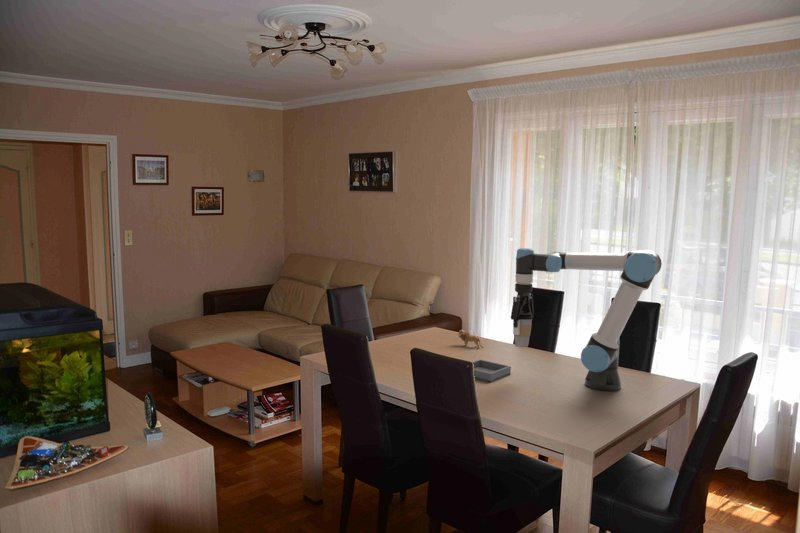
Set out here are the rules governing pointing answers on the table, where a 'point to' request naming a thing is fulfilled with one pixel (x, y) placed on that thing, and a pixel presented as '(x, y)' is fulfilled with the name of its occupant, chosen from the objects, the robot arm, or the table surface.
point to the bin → (490, 370)
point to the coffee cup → (523, 329)
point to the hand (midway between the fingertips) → (521, 332)
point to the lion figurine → (469, 338)
